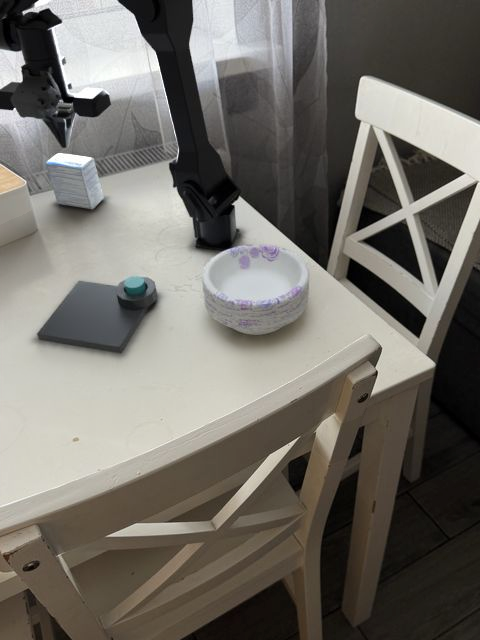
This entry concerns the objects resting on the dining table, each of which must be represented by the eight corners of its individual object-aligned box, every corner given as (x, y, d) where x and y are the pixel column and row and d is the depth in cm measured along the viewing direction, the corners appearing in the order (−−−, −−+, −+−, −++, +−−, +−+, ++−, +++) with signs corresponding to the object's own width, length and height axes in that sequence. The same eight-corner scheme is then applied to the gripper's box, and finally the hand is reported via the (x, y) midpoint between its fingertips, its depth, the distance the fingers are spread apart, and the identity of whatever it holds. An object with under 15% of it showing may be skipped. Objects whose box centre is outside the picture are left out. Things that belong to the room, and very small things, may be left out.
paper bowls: (281, 273, 96) (281, 231, 91) (326, 330, 86) (328, 286, 81) (192, 299, 92) (186, 256, 87) (228, 361, 82) (224, 317, 77)
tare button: (149, 285, 91) (147, 277, 90) (141, 297, 89) (139, 289, 88) (130, 282, 91) (129, 274, 90) (122, 294, 89) (120, 286, 88)
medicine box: (104, 199, 116) (94, 157, 110) (92, 210, 113) (81, 168, 107) (69, 193, 118) (58, 151, 112) (57, 204, 115) (44, 162, 109)
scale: (163, 294, 93) (161, 279, 91) (127, 354, 84) (123, 338, 82) (83, 282, 96) (78, 267, 94) (39, 339, 86) (33, 324, 84)
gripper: (-39, 68, 93) (-5, 162, 104) (70, 76, 89) (92, 173, 100) (1, 45, 100) (28, 135, 111) (102, 52, 97) (120, 144, 108)
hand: (65, 147), depth 107 cm, fingers closed
